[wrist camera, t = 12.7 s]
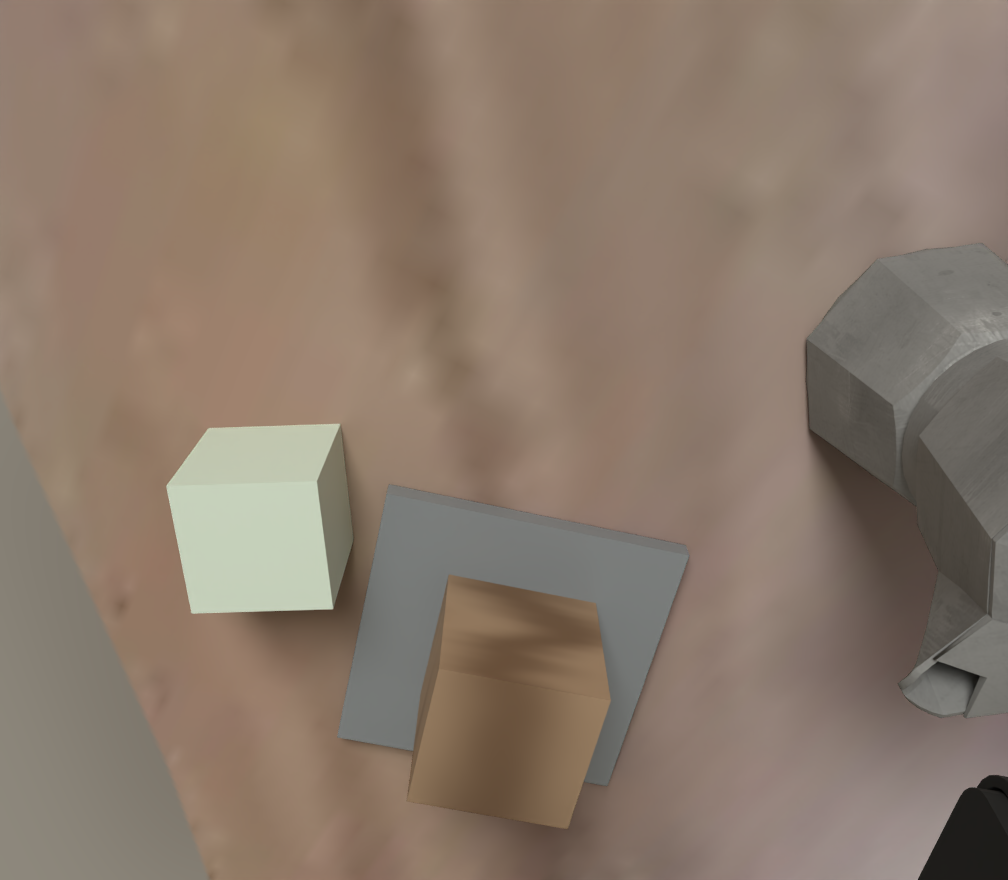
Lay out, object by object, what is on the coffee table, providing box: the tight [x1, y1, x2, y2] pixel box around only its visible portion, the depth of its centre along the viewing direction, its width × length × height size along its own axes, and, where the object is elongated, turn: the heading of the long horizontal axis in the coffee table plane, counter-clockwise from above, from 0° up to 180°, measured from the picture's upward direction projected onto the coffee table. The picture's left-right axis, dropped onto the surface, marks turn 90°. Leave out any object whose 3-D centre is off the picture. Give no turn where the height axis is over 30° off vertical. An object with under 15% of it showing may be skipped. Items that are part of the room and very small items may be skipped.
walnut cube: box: [407, 575, 611, 829], centre depth 37 cm, size 6×6×6 cm
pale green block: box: [166, 424, 354, 613], centre depth 35 cm, size 5×5×5 cm
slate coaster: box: [337, 484, 689, 786], centre depth 40 cm, size 12×12×1 cm
